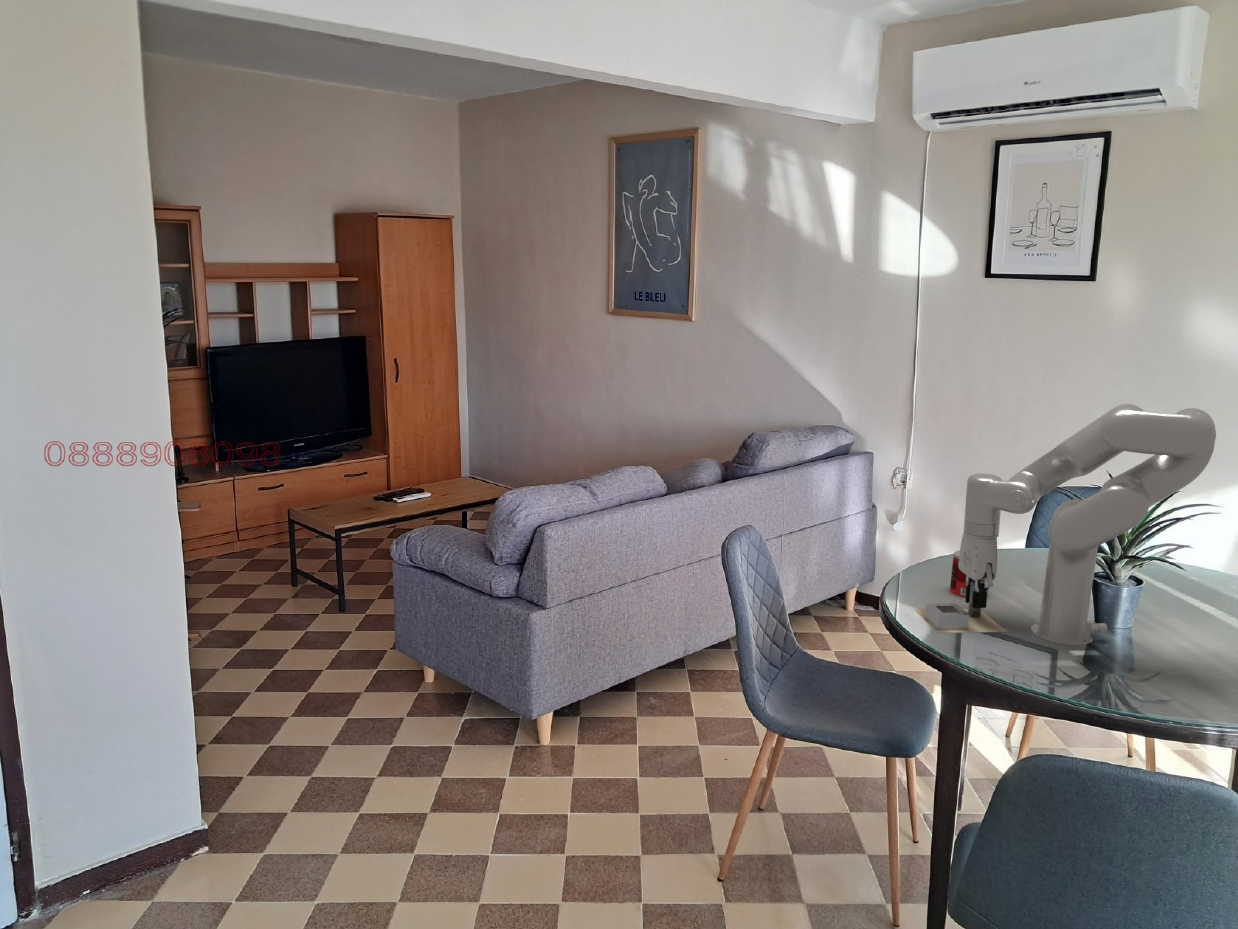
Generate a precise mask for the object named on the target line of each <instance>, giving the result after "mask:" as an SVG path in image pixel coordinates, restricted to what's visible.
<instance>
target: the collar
mask: <svg viewBox="0 0 1238 929" xmlns="http://www.w3.org/2000/svg"><path fill="white" fill-rule="evenodd" d="M925 609H926V612H925V619H927V620H928V621H929V622H930V623H931V624H932V625H933V626H934V627H935V628H936V629H937V630H968V623H969V614H968V613H967V612H965V611H964V610H963V609H964V608H962V607H961V606H959V605H958V604H957V602H956V603H954V602H953V603H951V602H950V603H926V605H925Z"/></svg>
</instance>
